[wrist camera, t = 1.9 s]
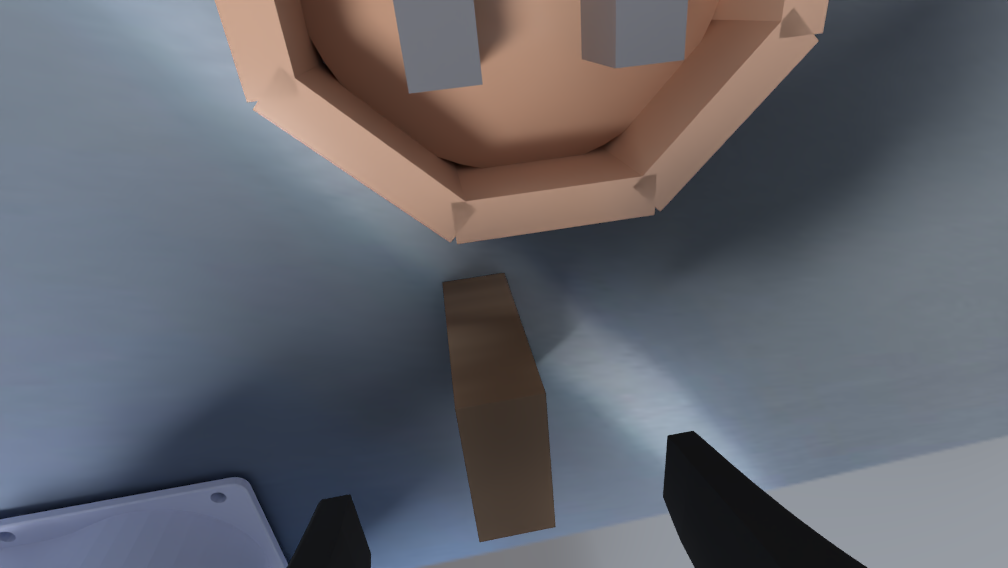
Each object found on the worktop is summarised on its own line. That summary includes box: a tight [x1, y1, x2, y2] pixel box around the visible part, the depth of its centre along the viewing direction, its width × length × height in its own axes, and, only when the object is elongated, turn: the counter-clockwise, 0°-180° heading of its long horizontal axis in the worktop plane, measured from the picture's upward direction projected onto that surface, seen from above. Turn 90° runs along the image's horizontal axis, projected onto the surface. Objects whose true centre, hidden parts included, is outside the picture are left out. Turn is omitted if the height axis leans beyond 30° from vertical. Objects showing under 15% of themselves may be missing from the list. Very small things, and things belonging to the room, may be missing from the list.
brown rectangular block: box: [442, 273, 555, 542], centre depth 15 cm, size 2×4×6 cm, turn 5°
